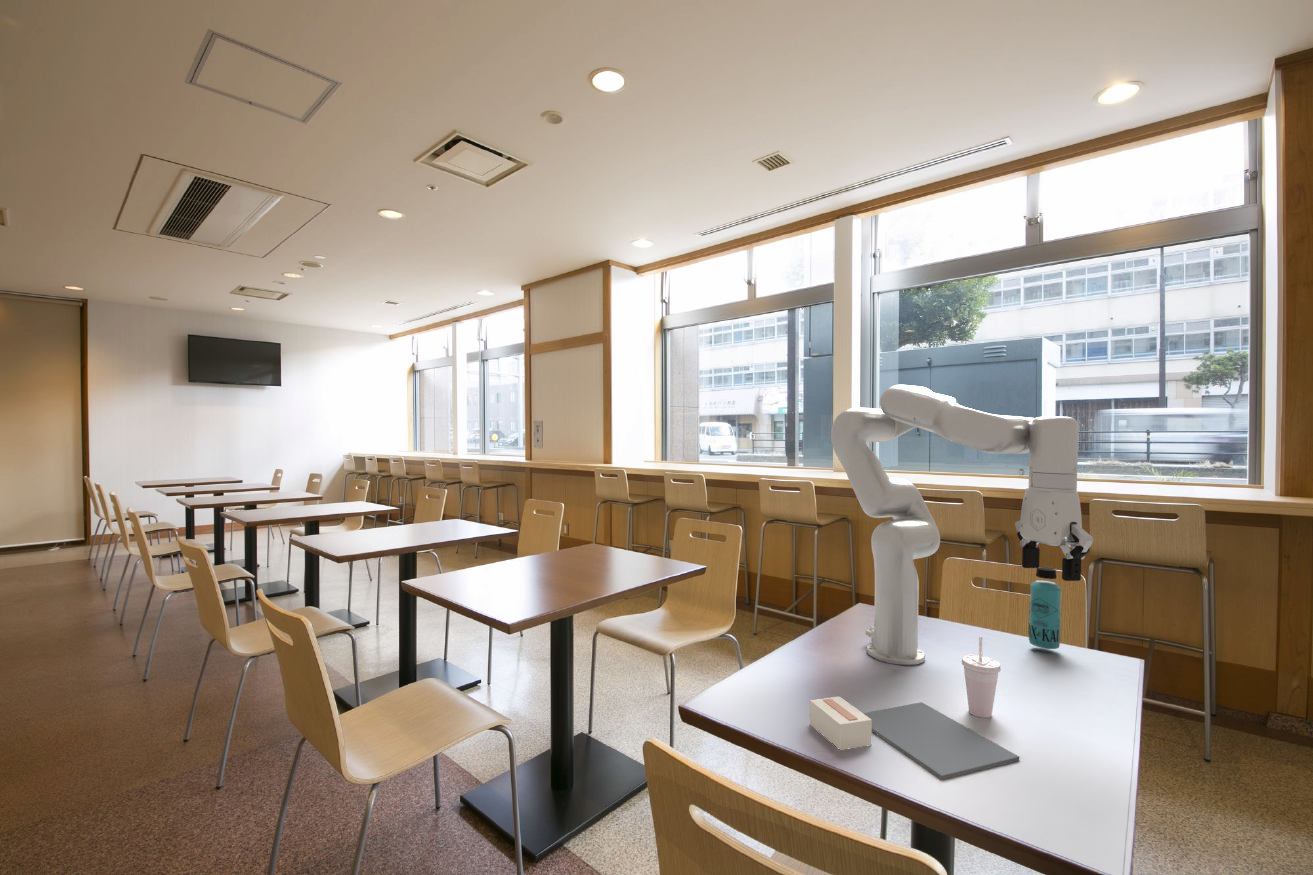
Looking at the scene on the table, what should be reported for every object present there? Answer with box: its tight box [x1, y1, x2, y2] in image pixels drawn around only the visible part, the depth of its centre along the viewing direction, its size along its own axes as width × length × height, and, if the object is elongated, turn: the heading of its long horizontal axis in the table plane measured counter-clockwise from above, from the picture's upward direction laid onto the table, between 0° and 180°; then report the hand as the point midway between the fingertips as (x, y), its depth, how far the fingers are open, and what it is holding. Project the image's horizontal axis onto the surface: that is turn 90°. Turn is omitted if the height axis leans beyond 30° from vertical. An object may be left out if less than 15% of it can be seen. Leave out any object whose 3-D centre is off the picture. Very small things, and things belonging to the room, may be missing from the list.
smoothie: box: [961, 635, 1002, 719], centre depth 109 cm, size 6×6×14 cm
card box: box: [809, 695, 873, 751], centre depth 100 cm, size 9×6×5 cm, turn 17°
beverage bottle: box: [1027, 566, 1062, 650], centre depth 142 cm, size 6×7×20 cm
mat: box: [862, 701, 1020, 780], centre depth 99 cm, size 20×16×1 cm
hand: (1050, 573), depth 110 cm, fingers open, 9 cm apart
